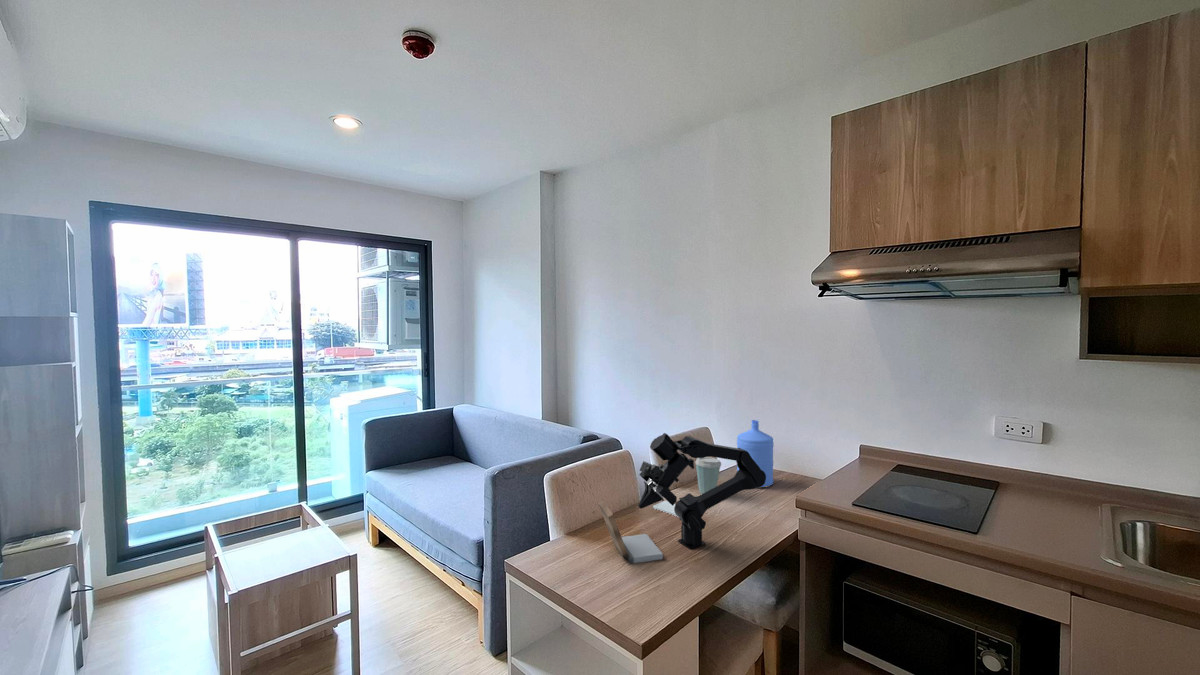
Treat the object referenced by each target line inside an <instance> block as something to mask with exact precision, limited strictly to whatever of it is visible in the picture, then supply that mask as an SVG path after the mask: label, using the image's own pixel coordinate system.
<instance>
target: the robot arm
mask: <svg viewBox="0 0 1200 675" xmlns="http://www.w3.org/2000/svg"><path fill="white" fill-rule="evenodd" d="M649 448H650V450H652V452H654V453H655V454H656V455H657V456H658V457H659V458H660V459H661V460H662V461H665V462H664V464H662V463H660V464H659V465H656V464H655V463H654V464H651V463H649V462H646V461H643V462H642V463H641V466H640V468H639V471H640V473H639V474H638V475H639V476H640V477H641V478H642V479H643V484H644V491H643V494H642V496H641V498H640V500H639V503H638V505H637V506H638V508H640V509H644V508H646V507H648V506H651V505H653V504H654V505H655V504H657V503H660V502H663V501H668V502H669V503H670V504H671V505H672V506H673V505H674V504H675V507H674V511H675V514H676V515H677V516H678V517H677V518H679V520H680V521H681V526H680V527H681V529H680V530H681V531H680V532H681V533H680V534H681V536H680V537H681V538H680V539H678V540H677V542H678V543H680V544H681V545H682V546H685V547H686V548H688V549H689V550H693V549H696V548H697V549H698V548H700V547H703V546H705V545H706V544H707V543H706V542H704V541H703V530H704V529H705V527H706V524H707V523H706V521H705V520H704V519H703V516H704V514H705V513H706V511H707V510H709V509H711V508H712V507H714V506H716V505H719V504H720V503H721V502H724V501H726V500H728V499H729V498H731V497H732V496H735V495H737V494H738V493H740V492H742V491H747V490H755V489H759V488H758V487H761V486H763V485H764V484H765V481H766V474H765V472H764V471H763V470H761V469H760V467H759V466H758V465H757V464H756V462H755V461H754V460H753V459H752V457H751V456H750V454H749V452H747V451H746V450H743V449H741V448H737V447H731V446H727V445H720V444H714V443H708V442H706V441H703V440H702V439H698V438H696V437H693V436H691V435H687V436H684V438H682V439H679V440H675V441H674V440H672V438H671V437H670V435H669V434H667V433H665V432H664V433H663V434H661V435H659V436H657V437H656V438H654V439H653V440H652V441H651V443H650V447H649ZM687 456H689V457H691V458H689V457H687ZM704 457H710V458H716V459H725V460H731V461H735V462H736V467H737V466H738V468H739V470H738V471H737V470H736V474H735V475H734V476H733V477H732V478H730V479H728V480H726V481H724V482H722V483H721V484H717V487H715V488H713V489H711V490H709V491H707V492H705V493H703V494H702V495H701V494H699V495H697V496H694V495H693V494H692V493H687V494H685V495H684V496H682V497H679V498H678V497H677V495H675V493H674V492H672V490H671V486H672V485H673V484H674V483H678V482H679V481H680V479H678V478H679V477H680V476H681V474H682V473H683V472H684V471H685V469H687V467H689V468H691V469H692V470H694V469H695V460H694V459H697V458H704ZM692 458H694V459H692ZM677 499H679V500H677Z"/></svg>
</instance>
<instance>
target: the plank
mask: <svg viewBox="0 0 1200 675" xmlns="http://www.w3.org/2000/svg"><path fill="white" fill-rule="evenodd" d="M597 503H598V506H599V509H600V512H601V515H602V516H603V519H604V522H605V524H606V527H607V530H608V532H609V533H608V534H609V536H610V539H611V541H612V543H613V544H614V546H615V548H616V549H617V551H618V553H619V554H620V556H621V557H622V559H623V560H625V559H627V557H629V556H628V553H627V551H626V548H625V545H624V543H623V540H622V537H623V536H622V534H621V532H620V530H619V527H618V524H617V521H616V519H615V516H614V513H613V512H612V511H611V510H610V508H609V507H608V506H607V504H606V503H605V501H604V500H603V499H602V500H600V501H597Z"/></svg>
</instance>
